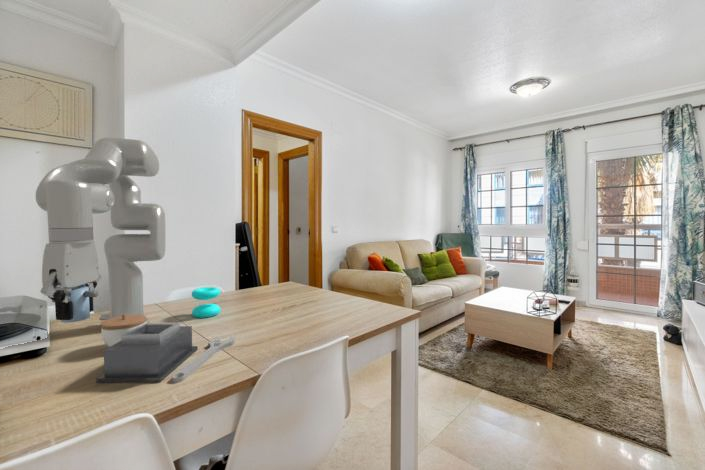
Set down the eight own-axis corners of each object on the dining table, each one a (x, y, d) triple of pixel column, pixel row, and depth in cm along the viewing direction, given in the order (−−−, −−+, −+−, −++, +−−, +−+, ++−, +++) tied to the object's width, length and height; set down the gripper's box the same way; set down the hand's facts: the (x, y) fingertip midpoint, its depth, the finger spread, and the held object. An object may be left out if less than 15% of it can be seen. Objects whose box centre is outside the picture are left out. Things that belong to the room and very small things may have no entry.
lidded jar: (108, 342, 94) (107, 311, 93) (150, 337, 98) (149, 307, 98) (95, 356, 84) (94, 322, 84) (142, 350, 88) (142, 317, 88)
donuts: (185, 291, 118) (203, 286, 128) (185, 317, 119) (204, 310, 128) (208, 292, 116) (225, 287, 126) (209, 319, 116) (225, 312, 126)
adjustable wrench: (181, 385, 70) (180, 377, 70) (155, 383, 71) (155, 375, 71) (238, 342, 95) (237, 336, 95) (218, 341, 96) (218, 335, 96)
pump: (54, 322, 70) (52, 291, 69) (73, 315, 75) (72, 286, 74) (88, 322, 70) (86, 291, 69) (105, 315, 75) (103, 286, 74)
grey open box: (96, 382, 70) (95, 343, 70) (146, 350, 88) (145, 318, 88) (160, 382, 71) (159, 342, 70) (197, 349, 89) (196, 318, 88)
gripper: (85, 233, 79) (88, 304, 80) (15, 238, 62) (20, 329, 63) (116, 233, 79) (118, 304, 81) (54, 239, 62) (58, 329, 64)
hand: (75, 314), depth 72 cm, fingers closed on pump, 5 cm apart
